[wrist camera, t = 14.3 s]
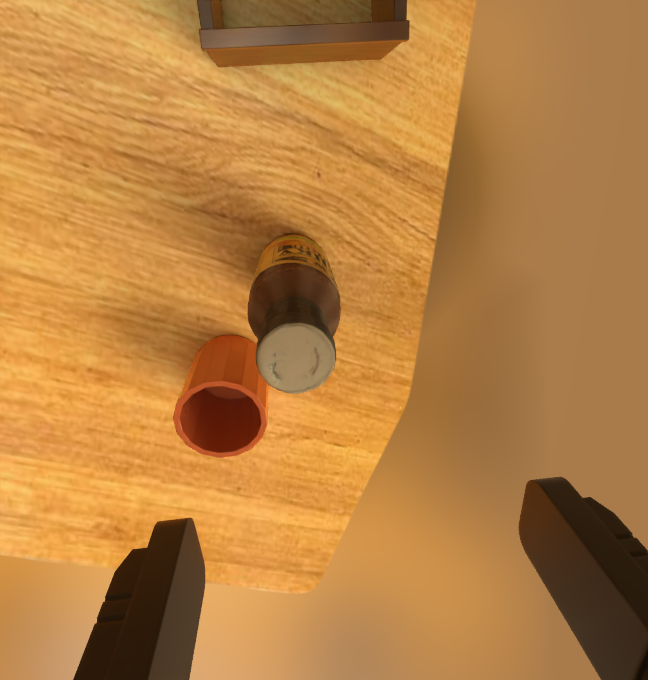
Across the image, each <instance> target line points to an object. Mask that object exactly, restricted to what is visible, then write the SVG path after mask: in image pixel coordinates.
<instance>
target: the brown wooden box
mask: <svg viewBox="0 0 648 680" xmlns="http://www.w3.org/2000/svg"><path fill="white" fill-rule="evenodd" d="M197 5H198V11H199V18H200V25H201V29H199V35H200V41H201V48H202V50H203V51H207V52H208V54H209V55H210V56H211V58H212V59H213V60H214V62H215V63H216V64H217V66H218V67H229V66H249V65H270V64H290V63H311V62H331V61H352V60H372V59H382V58H383V57H384V56H386V55H387V54H388V53H389V52H390V51H392V50H393V49H394V48H395V47H396V46H398V45H399V44H400V43H401V42H406V41H408V40H409V20H406V15H407V0H372V22H359V23H336V24H313V25H290V26H266V27H243V28H224V26H223V18H222V10H221V2H220V0H197Z"/></svg>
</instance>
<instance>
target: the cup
mask: <svg viewBox="0 0 648 680" xmlns="http://www.w3.org/2000/svg"><path fill="white" fill-rule="evenodd" d="M256 348H257V345H256V344H255V343H254V342H252V341H250V340H248V339H246V338H243V337H240V336H234V335H226V336H220V337H216V338H214V339H212V340H210V341H208V342H207V343H205V344H204V345H203V346H202V347H201V348H200V349H199V351H198V352H197V354H196V355H195V358H194V360H193V363H192V365H191V368H190V370H189V373H188V375H187V378H186V381H185V383H184V386H183V388H182V391H181V393H180V396H179V398H178V401H177V404H176V408H175V412H174V416H173V420H174V424H175V428H176V432H177V434H178V435H179V436H180V438H181V439H182V440H183V441H184V443H185V444H186V445H187V446H189V447H190V448H192V449H194V450H196V451H197V452H199V453H201V454H204V455H209V456H214V457H219V458H220V457H230V456H236V455H239V454H241V453H243V452H245V451H248V450H250V449H251V448H253V447H254V446H255V445H256V444H257V443H258V442H259V440H260V439H261V438H262V437H263V435H264V432H265V429H266V426H267V420H268V393H269V384H268V383H267V382H266V381H265V380H264V379H263V378H262V376H261V375H260V373H259V370H258V368H257V364H256Z"/></svg>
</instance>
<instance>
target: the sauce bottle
mask: <svg viewBox="0 0 648 680" xmlns="http://www.w3.org/2000/svg"><path fill="white" fill-rule="evenodd" d="M340 304H341V301H340V295H339V291H338V288H337V285H336V282H335V280H334V277H333V274H332V271H331V269H330V265H329V262H328V259H327V257H326V255H325V253H324V251H323V250H322V249H321V247H320V246H319V245H318V244H316V242H315V241H314V240H312V239H310V238H308V237H305V236H302V235H298V234H292V233H289V234H285V235H282V236H280V237H278V238H276V239H275V240H273V241H272V242H271V243H269V244H268V245H267V246H266V247H265V249H264V251H263V253H262V254H261V256H260V259H259V262H258V266H257V269H256V273H255V276H254V280H253V283H252V286H251V290H250V295H249V302H248V321H249V324H250V327H251V329H252V331H253V333H254V334H255V336H256V337H257V338H258V343H257V348H256V364H257V368H258V370H259V373H260V375H261V376H262V378H263V379H264V380H265V381H266V382H267V383H268V384H269V385H270V386H272V387H274V388H276V389H277V390H279V391H283V392H286V393H291V394H298V393H304V392H307V391H310V390H314V389H316V388H318V387H319V386H320V385H322V384H323V383H325V381H326V380H327V379H328V378H329V376H330V375H331V373H332V371H333V370H334V366H335V361H336V349H335V342H334V339H333V336H334V334H335V332H336V329H337V327H338V324H339V320H340V310H341V306H340Z"/></svg>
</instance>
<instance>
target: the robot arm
mask: <svg viewBox="0 0 648 680" xmlns="http://www.w3.org/2000/svg"><path fill="white" fill-rule="evenodd" d="M519 535H520V540H521V543H522V546H523V548H524V550H525V552H526V554H527V556H528V557H529V559H530V561H531V563H532V564H533V566H534V567H535V569H536V571H537V573H538V574H539V576H540V578H541V579H542V581H543V583H544V584H545V586H546V588H547V589H548V591H549V593H550V594H551V596H552V598H553V599H554V601H555V603H556V604H557V606H558V608H559V610H560V611H561V613H562V614H563V616H564V618H565V620H566V621H567V623H568V625H569V626H570V628H571V630H572V631H573V633H574V635H575V636H576V638H577V640H578V641H579V643H580V645H581V646H582V648H583V650H584V651H585V653H586V655H587V656H588V658H589V660H590V662H591V663H592V665H593V667H594V668H595V670H596V672H597V673H598V675H599V677H600V678H601V680H648V550H646V548H645V547H644V546H643V545H642V544H641V543H640V542H639V540H638V539H637V538H634V537H633V536H632V533H631V532H630V531H629V529H628V528H627V527H626V526H625V525H624V524H623V523H622V521H621V520H620V519H619V518H618V517H617V516H616V515H615V514H614V513H613V512H612V511H610V510H608V509H607V508H605V507H604V506H603V505H601V504H599V503H598V502H597V501H595V500H594V499H592V498H591V497H587V498H582V497H581V496H580V495H579V493H578V492H577V491H576V490H575V489H574V487H573V486H572V485H571V484H570V483H569V482H568V481H567V480H566V479H565V478H563V477H554V478H546V479H536V480H530V481H528V483H527V485H526V489H525V494H524V499H523V505H522V510H521V515H520V521H519ZM204 589H205V564H204V559H203V555H202V552H201V548H200V544H199V540H198V536H197V532H196V528H195V525H194V521H193V519H192V518H184V519H175V520H167V521H158V522H157V523H156V525H155V527H154V529H153V532H152V535H151V538H150V541H149V544H148V547H147V548H141V549H133V550H132V551H131V552H130V553H129V555H128V556H127V557H126V559H125V560H124V561H123V562H122V564H121V565H120V566H119V567H118V569H117V570H116V571H115V573H114V576H113V578H112V581H111V583H110V586H109V589H108V591H107V594H106V596H105V602H103V604H102V607H101V609H100V612H99V615H98V617H97V623H96V624H95V625H94V627H93V630H92V632H91V635H90V638H89V640H88V643H87V646H86V648H85V651H84V653H83V656H82V658H81V661H80V664H79V666H78V669H77V671H76V674H75V677H74V679H73V680H189V678H190V672H191V666H192V660H193V654H194V648H195V642H196V637H197V630H198V625H199V619H200V613H201V607H202V601H203V596H204Z"/></svg>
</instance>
